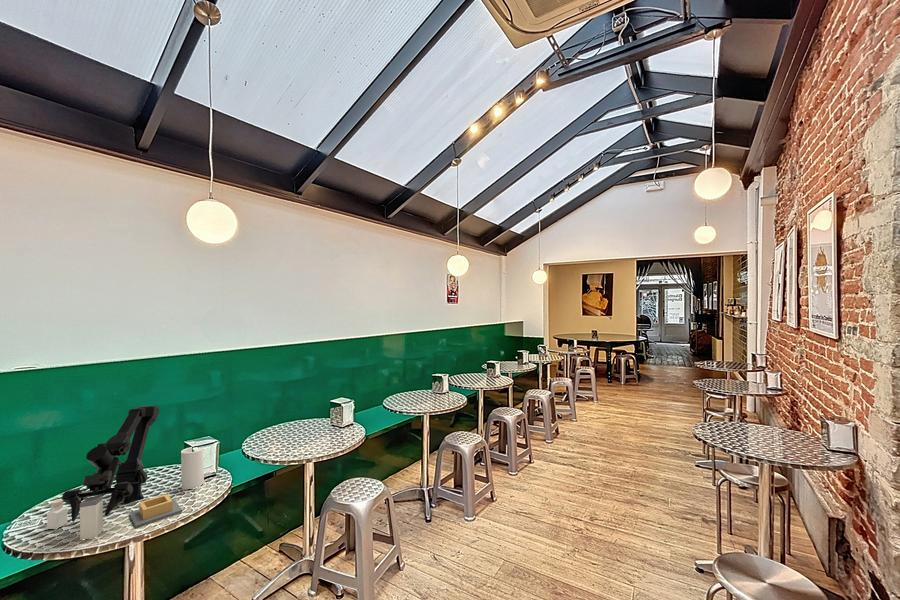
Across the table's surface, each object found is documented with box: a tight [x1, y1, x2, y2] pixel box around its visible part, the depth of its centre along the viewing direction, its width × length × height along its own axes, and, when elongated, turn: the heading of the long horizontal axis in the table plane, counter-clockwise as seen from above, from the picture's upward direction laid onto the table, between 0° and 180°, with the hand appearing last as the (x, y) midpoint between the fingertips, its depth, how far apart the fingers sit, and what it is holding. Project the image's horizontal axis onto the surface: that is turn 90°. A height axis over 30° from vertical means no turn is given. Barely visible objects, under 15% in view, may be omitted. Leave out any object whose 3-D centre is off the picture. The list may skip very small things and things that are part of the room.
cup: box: [180, 446, 205, 491], centre depth 170 cm, size 8×8×16 cm
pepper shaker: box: [46, 498, 68, 530], centre depth 140 cm, size 4×4×10 cm
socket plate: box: [128, 493, 183, 529], centre depth 147 cm, size 14×14×4 cm
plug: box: [79, 495, 104, 541], centre depth 133 cm, size 4×4×12 cm
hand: (89, 518), depth 132 cm, fingers open, 9 cm apart
